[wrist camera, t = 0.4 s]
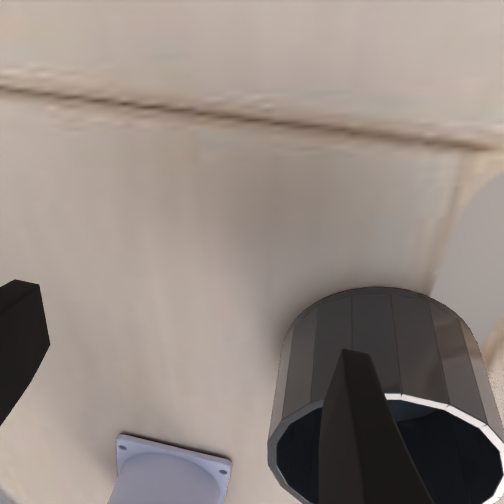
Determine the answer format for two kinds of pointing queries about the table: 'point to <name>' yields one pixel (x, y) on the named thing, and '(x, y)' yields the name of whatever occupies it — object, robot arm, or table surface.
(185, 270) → the table surface
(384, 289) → the desk cup
